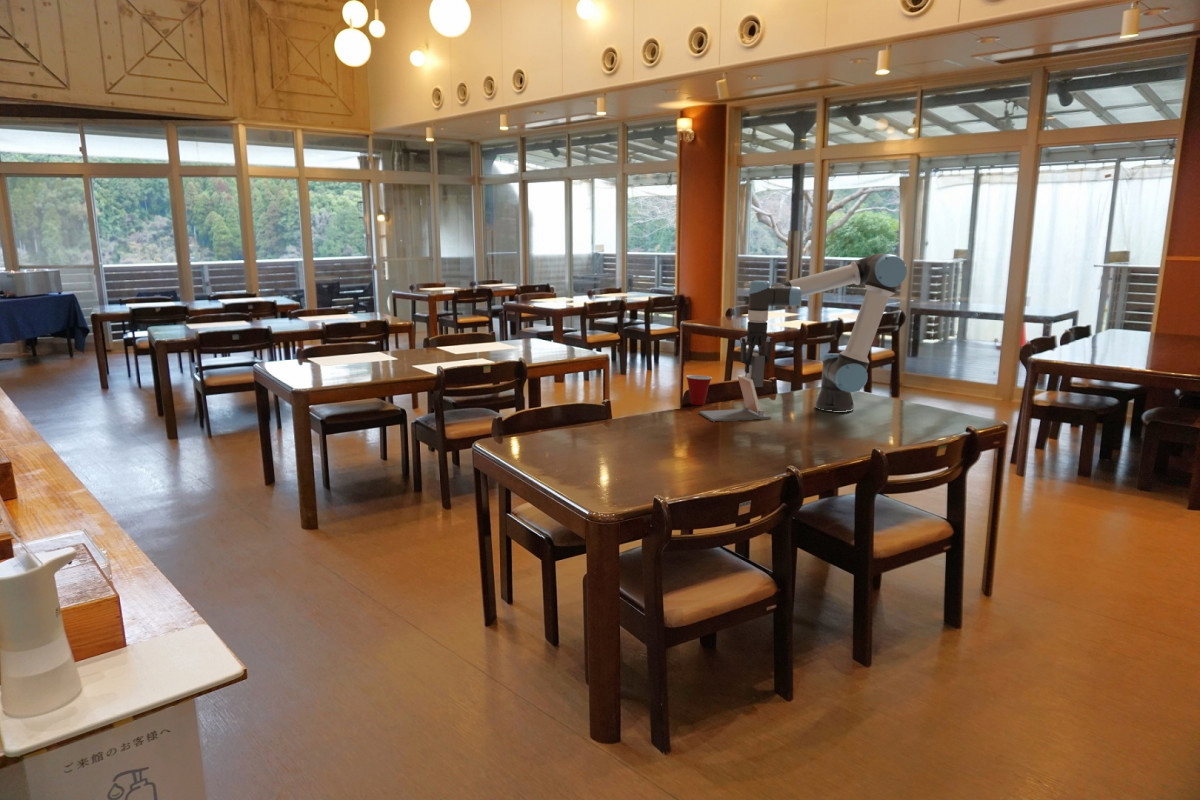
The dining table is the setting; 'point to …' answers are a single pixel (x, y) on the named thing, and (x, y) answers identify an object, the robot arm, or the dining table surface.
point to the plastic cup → (698, 388)
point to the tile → (749, 393)
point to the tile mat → (734, 415)
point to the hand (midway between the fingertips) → (754, 380)
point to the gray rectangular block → (757, 369)
